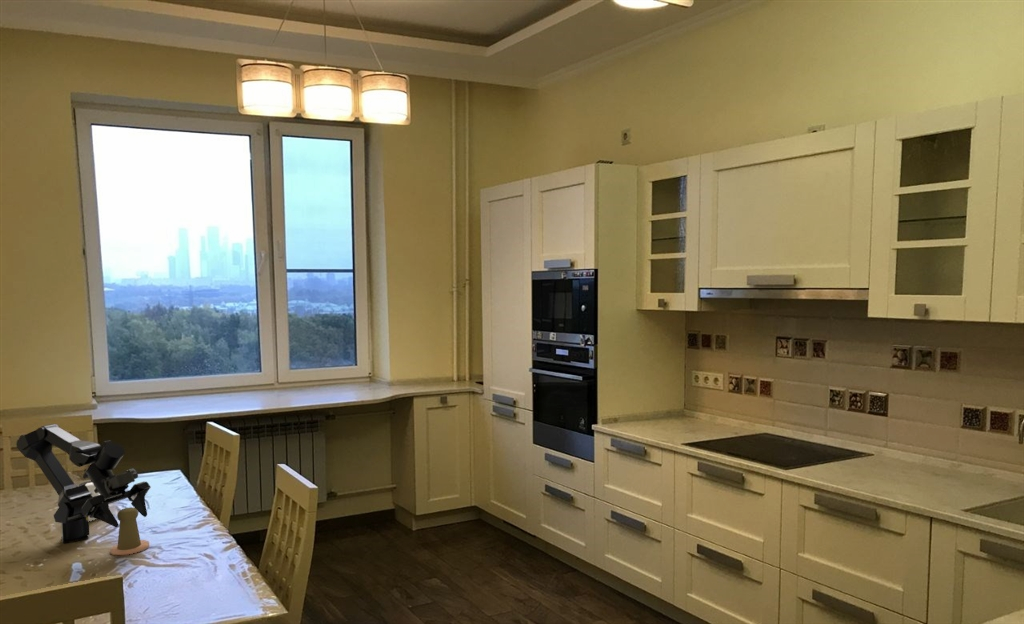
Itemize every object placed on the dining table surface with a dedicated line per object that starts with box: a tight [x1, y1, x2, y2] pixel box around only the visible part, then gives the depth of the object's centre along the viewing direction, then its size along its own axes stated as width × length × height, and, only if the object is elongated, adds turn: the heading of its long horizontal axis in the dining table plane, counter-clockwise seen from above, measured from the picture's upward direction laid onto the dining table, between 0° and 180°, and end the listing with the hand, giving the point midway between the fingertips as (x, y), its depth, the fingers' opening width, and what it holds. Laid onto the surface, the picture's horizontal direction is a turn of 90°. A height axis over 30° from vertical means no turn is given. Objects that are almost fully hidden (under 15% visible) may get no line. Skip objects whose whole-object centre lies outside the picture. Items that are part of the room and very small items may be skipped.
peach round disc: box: [109, 539, 150, 556], centre depth 202 cm, size 10×10×1 cm
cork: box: [117, 507, 141, 550], centre depth 202 cm, size 6×6×11 cm
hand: (132, 521), depth 201 cm, fingers open, 9 cm apart
